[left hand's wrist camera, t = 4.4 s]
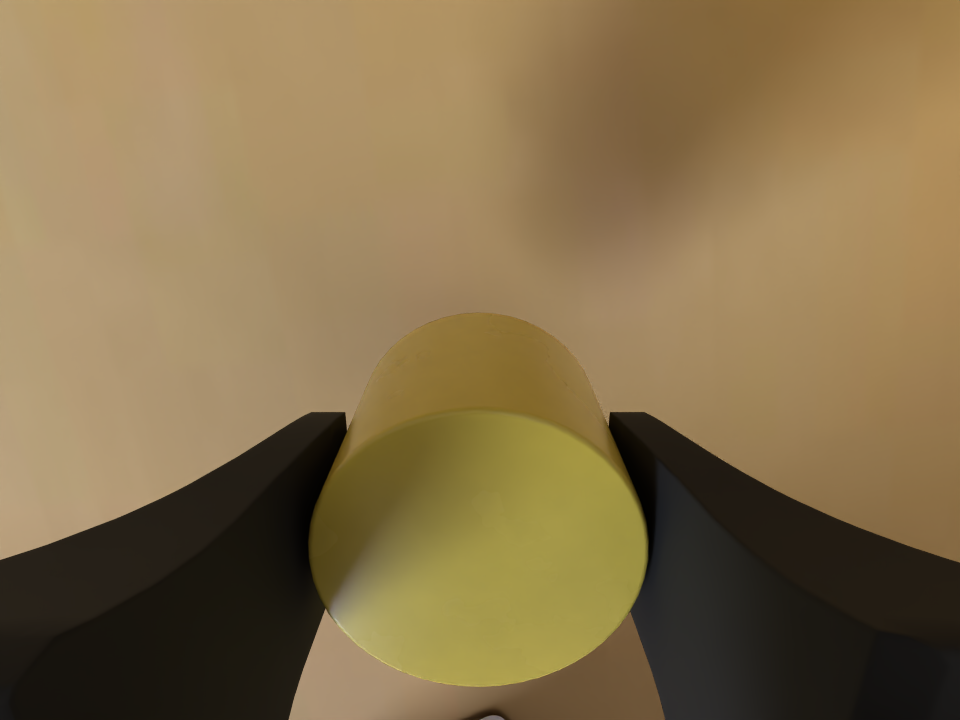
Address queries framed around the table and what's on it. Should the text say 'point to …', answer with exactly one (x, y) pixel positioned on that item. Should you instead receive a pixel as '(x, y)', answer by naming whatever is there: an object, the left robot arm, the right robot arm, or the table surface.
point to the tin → (478, 509)
